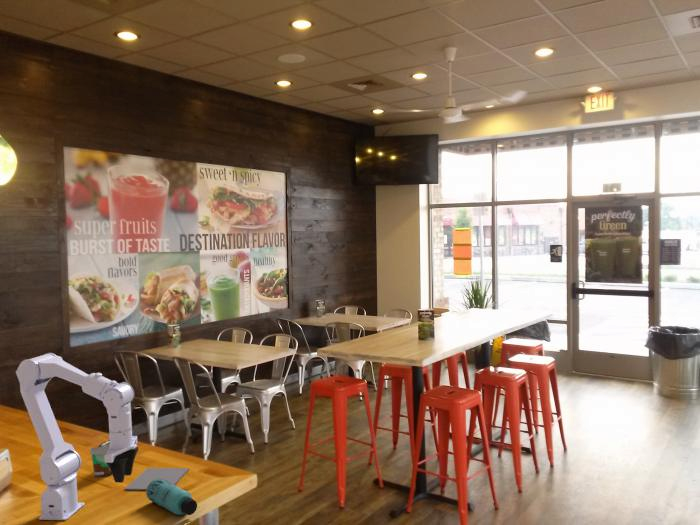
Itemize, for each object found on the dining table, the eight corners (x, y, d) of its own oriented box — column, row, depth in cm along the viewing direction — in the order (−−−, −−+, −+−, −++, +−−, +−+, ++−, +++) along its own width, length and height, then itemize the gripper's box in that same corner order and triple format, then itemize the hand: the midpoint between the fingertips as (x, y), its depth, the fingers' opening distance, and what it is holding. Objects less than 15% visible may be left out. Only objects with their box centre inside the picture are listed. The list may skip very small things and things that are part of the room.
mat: (169, 490, 177) (169, 489, 177) (124, 490, 178) (124, 488, 178) (188, 469, 192) (188, 468, 192) (147, 469, 194) (147, 467, 194)
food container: (109, 480, 186) (107, 448, 185) (91, 479, 187) (89, 448, 187) (131, 464, 198) (129, 435, 197) (114, 463, 199) (113, 434, 199)
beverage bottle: (165, 476, 175) (204, 494, 161) (159, 500, 173) (198, 520, 160) (145, 476, 170) (184, 494, 156) (139, 500, 168) (178, 521, 155)
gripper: (121, 438, 153) (124, 490, 154) (146, 420, 167) (149, 467, 168) (95, 438, 154) (98, 489, 154) (122, 420, 168) (125, 467, 169)
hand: (123, 478), depth 161 cm, fingers open, 4 cm apart
